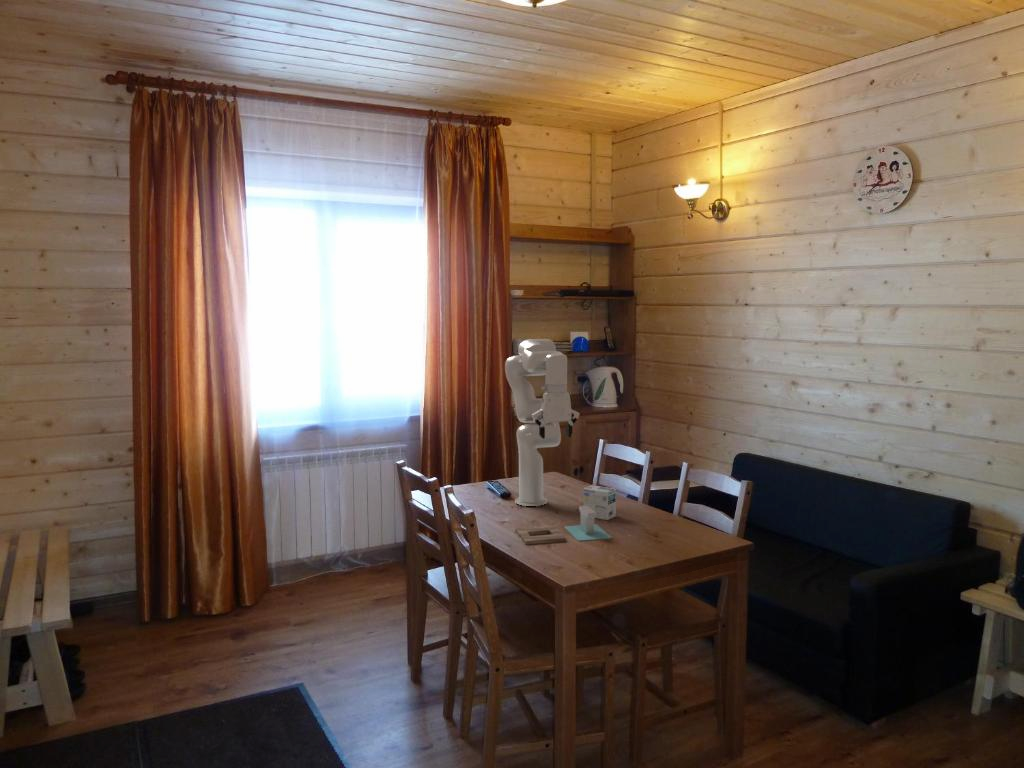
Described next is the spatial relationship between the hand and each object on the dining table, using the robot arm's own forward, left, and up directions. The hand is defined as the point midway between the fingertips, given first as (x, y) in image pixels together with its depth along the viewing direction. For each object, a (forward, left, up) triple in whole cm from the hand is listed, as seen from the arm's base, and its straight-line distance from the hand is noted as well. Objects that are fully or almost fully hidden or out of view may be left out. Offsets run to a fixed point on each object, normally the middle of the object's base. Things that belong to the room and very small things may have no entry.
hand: (555, 437), depth 269 cm
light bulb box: (-7, +19, -32) cm, 38 cm away
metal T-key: (+11, +8, -32) cm, 35 cm away
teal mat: (+11, +8, -32) cm, 35 cm away
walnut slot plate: (+11, -9, -32) cm, 35 cm away
